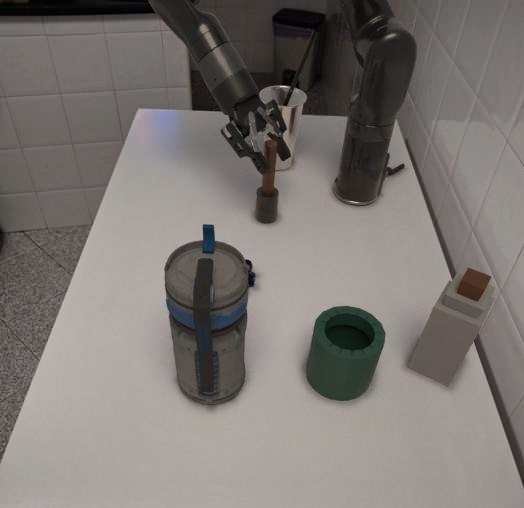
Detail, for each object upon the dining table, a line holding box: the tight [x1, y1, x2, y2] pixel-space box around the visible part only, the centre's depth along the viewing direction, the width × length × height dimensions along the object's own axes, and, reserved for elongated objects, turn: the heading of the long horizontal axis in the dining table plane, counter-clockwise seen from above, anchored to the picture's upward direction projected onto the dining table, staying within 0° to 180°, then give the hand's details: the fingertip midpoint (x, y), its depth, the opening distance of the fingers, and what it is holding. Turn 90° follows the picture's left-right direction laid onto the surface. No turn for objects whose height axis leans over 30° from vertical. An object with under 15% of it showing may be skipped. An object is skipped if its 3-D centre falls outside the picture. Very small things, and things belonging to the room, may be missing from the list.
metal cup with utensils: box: [258, 27, 319, 171], centre depth 107 cm, size 11×11×30 cm
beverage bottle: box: [163, 223, 250, 405], centre depth 67 cm, size 10×13×25 cm
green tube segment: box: [305, 305, 386, 402], centre depth 75 cm, size 10×10×10 cm
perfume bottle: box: [407, 267, 496, 387], centre depth 75 cm, size 7×7×18 cm
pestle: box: [255, 140, 280, 225], centre depth 99 cm, size 4×4×16 cm
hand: (276, 165), depth 95 cm, fingers open, 5 cm apart
